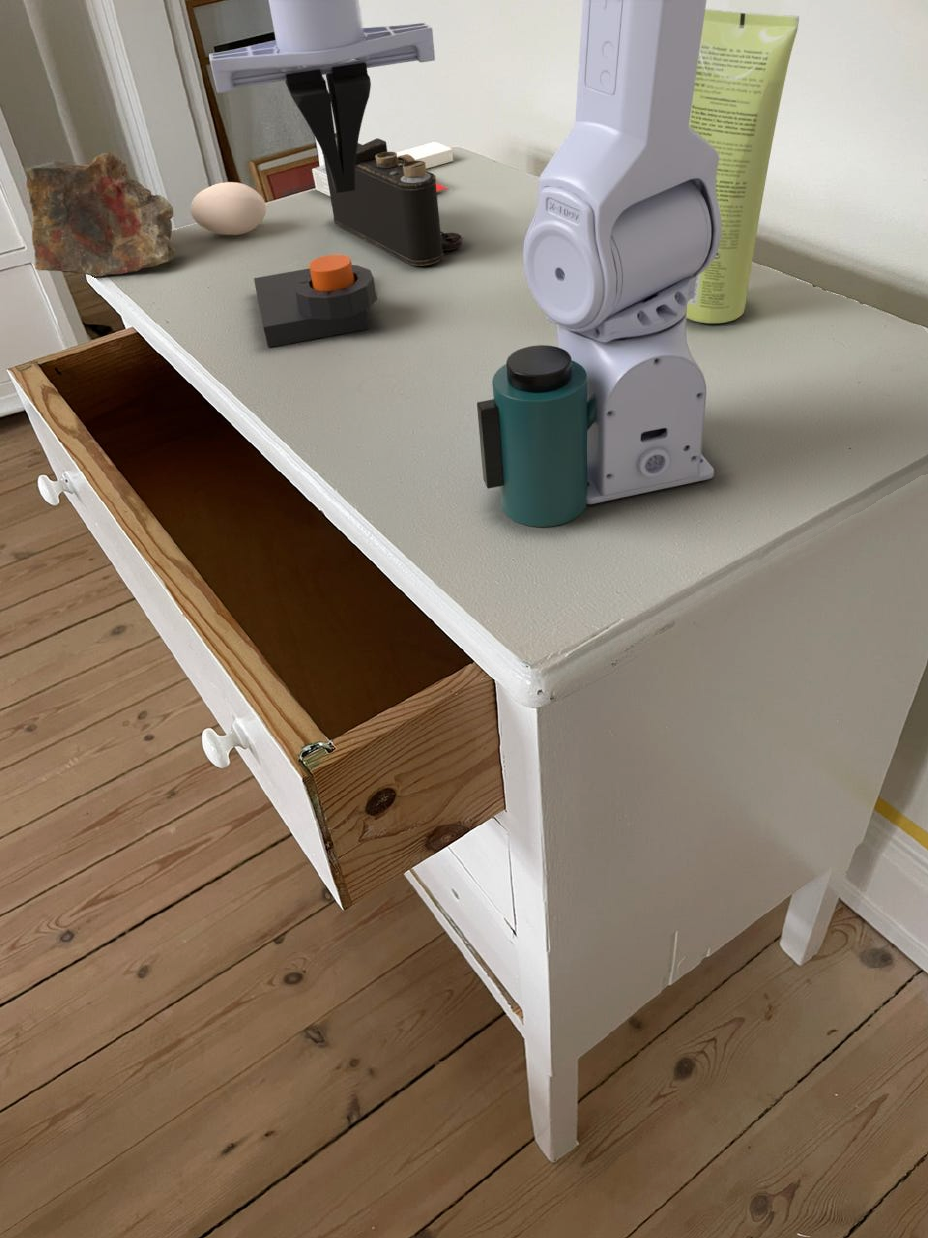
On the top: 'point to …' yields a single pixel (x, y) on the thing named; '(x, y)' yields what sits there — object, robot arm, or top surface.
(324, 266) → the switch button
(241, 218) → the egg
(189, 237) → the top surface
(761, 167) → the tube
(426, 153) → the eraser
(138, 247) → the rock
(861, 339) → the top surface
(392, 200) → the camera
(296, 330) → the push button switch
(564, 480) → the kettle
